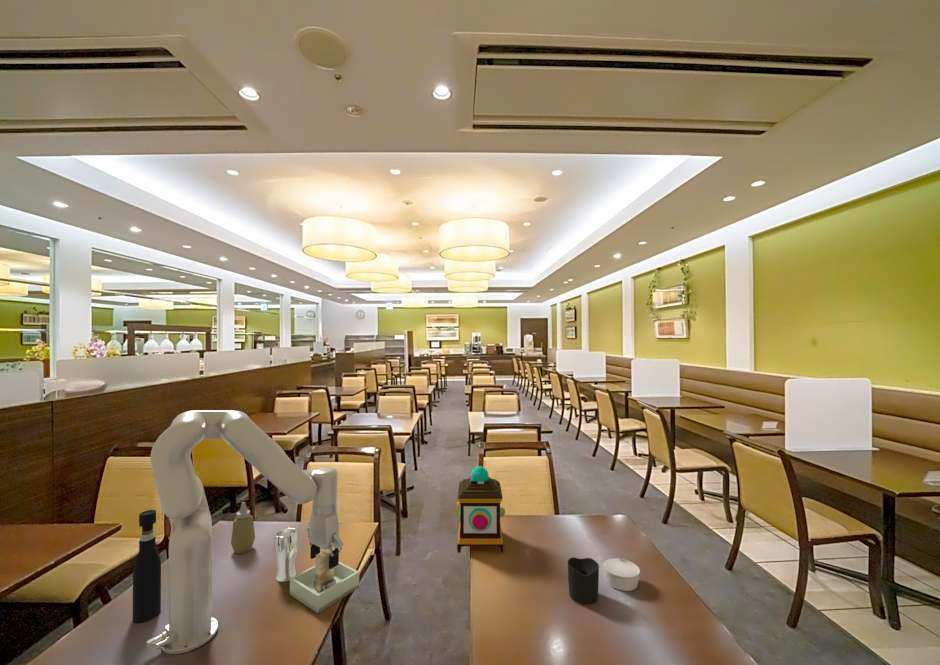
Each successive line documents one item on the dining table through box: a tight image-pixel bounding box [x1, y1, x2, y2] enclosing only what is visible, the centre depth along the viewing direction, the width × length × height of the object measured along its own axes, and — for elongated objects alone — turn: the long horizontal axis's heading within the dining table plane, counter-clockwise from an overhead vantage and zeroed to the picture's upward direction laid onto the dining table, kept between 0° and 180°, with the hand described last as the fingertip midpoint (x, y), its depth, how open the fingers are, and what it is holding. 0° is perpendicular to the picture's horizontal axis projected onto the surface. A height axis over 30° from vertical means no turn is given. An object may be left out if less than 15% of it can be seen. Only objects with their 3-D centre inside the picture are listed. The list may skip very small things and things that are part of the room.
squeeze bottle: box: [230, 501, 256, 554], centre depth 154 cm, size 8×8×18 cm
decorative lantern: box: [454, 465, 506, 554], centre depth 159 cm, size 20×20×30 cm
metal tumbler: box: [274, 527, 298, 583], centre depth 136 cm, size 7×7×15 cm
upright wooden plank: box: [315, 549, 334, 593], centre depth 128 cm, size 5×2×11 cm, turn 142°
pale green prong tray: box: [289, 561, 360, 614], centre depth 128 cm, size 15×15×5 cm
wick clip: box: [314, 579, 336, 591], centre depth 128 cm, size 4×6×2 cm
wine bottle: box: [132, 509, 162, 624], centre depth 117 cm, size 6×6×30 cm
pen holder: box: [567, 556, 600, 605], centre depth 125 cm, size 9×9×10 cm
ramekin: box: [603, 557, 641, 592], centre depth 132 cm, size 11×11×5 cm
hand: (324, 561), depth 128 cm, fingers open, 9 cm apart
